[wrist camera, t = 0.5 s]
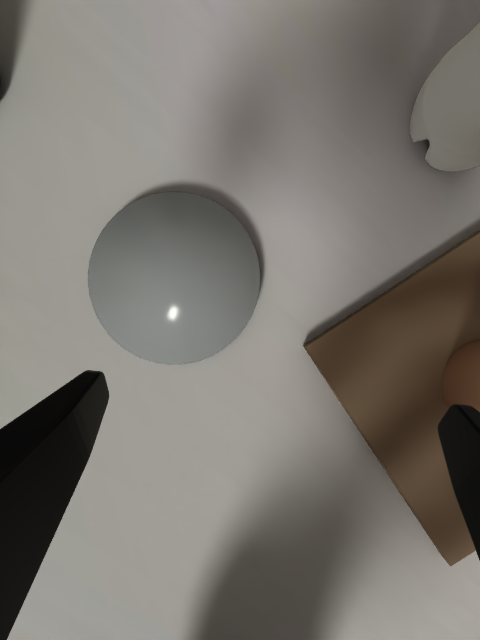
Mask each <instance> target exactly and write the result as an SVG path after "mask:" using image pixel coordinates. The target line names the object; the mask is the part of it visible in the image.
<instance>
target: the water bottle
mask: <svg viewBox="0 0 480 640" xmlns="http://www.w3.org/2000/svg"><path fill="white" fill-rule="evenodd" d="M410 136H411V138H412V140H413V143H414V142H416V141H423V140H425V139H428V140H429V143H430V147H429V149H428V151H427V153H426V157H425V160H426V161H427V162H428V164H429V165H430V166H431V167H434V168H436V169H439V170H442V171H462V170H466V169H470V168H474V167H477V166H480V22H479V24H478V25H477V26H476V27H475V28H473V29H472V30H471V31H470V32H469V33H468V34H467V35H466V36H465V37H464V38H463V39H462V40H460V41H459V42H458V43H457V44H456V45H455V46H453V47H452V48H451V49H450V50H449V51H448V52H447V53H446V54H445V55H444V57H443V58H442V59H441V60H440V62H439V63H438V64H437V66H436V67H435V68H434V69H433V71H432V72H431V73H430V75H429V76H428V78H427V79H426V81H425V83H424V84H423V86H422V88H421V90H420V92H419V94H418V96H417V98H416V101H415V104H414V107H413V111H412V115H411V123H410Z"/></svg>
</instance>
